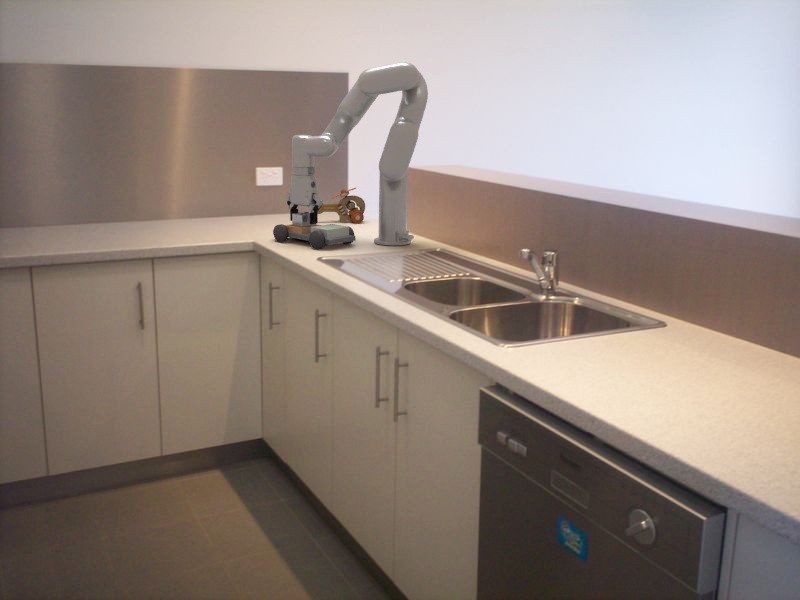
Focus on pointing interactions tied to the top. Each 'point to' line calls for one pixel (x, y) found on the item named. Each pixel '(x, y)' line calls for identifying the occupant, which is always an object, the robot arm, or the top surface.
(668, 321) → the top surface
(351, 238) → the chassis
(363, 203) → the toy helicopter
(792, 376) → the top surface
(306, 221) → the engine block
